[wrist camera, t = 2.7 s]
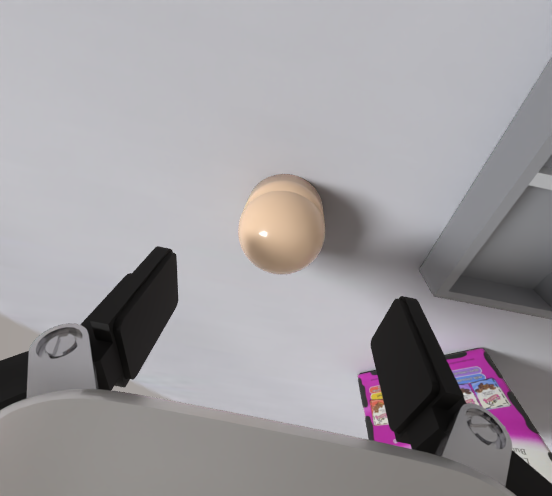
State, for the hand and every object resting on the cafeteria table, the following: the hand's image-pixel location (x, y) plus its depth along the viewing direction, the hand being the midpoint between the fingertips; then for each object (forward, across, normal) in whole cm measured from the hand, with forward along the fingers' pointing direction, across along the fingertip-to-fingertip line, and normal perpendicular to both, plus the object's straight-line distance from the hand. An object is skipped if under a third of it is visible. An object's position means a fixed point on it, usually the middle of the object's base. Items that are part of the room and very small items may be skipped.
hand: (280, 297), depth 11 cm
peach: (+7, 0, -1) cm, 7 cm away
